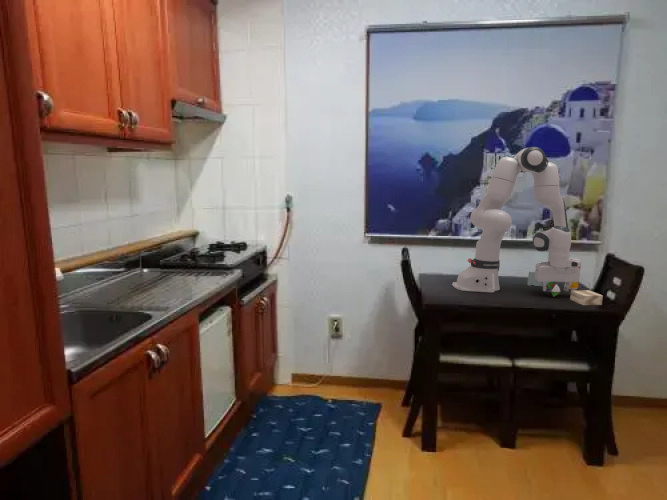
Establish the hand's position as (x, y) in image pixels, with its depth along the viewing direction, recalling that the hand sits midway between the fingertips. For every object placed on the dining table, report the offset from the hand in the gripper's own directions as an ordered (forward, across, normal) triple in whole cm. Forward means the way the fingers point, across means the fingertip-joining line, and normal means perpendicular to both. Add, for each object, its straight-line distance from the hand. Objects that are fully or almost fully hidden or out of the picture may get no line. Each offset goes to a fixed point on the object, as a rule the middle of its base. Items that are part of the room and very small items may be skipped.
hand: (555, 291), depth 223 cm
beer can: (+3, +16, +14) cm, 21 cm away
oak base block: (+3, +9, -10) cm, 14 cm away
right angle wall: (+3, +4, +24) cm, 25 cm away
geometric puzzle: (+2, 0, 0) cm, 2 cm away
